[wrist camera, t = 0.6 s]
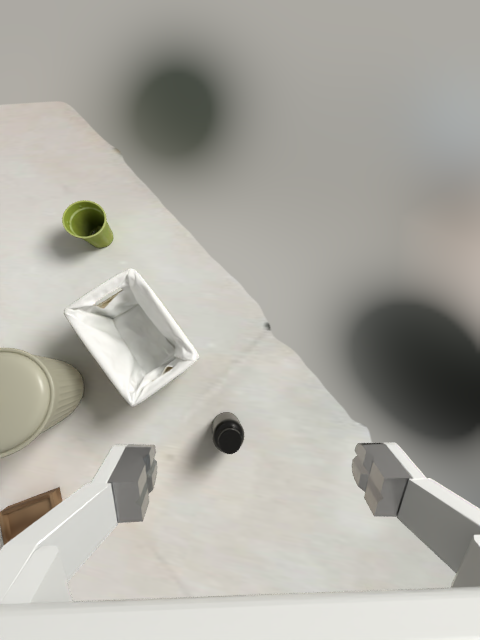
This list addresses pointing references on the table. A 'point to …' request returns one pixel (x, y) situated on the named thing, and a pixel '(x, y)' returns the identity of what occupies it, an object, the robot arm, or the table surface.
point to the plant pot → (88, 223)
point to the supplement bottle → (227, 433)
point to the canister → (33, 396)
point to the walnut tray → (27, 513)
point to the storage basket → (131, 336)
